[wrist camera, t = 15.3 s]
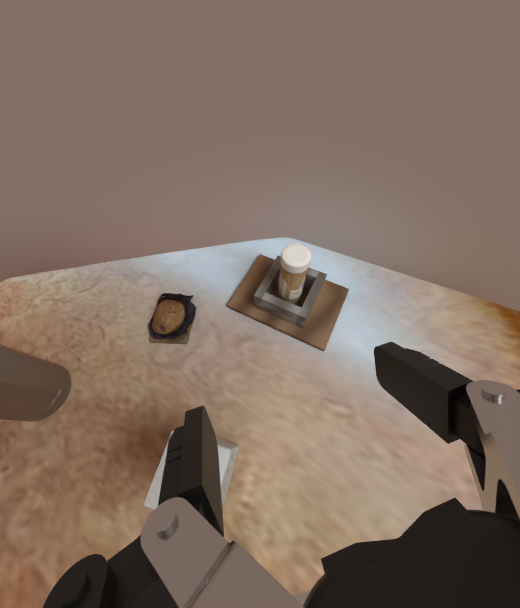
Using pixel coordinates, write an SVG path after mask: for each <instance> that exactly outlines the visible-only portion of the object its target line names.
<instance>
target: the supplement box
mask: <svg viewBox="0 0 520 608" xmlns="http://www.w3.org/2000/svg"><path fill="white" fill-rule="evenodd" d="M173 432H174V430H172V431H171V434H170V436H169V439H170V437H171V436H172V434H173ZM169 439H168V441H169ZM216 440H217V445H218V455H219V470H220V484H221V499H222V504H223V503H224V501H225V498H226V494H227V490H228V487H229V483H230V479H231V476H232V472H233V468H234V465H235V461H236V457H237V453H238V449H239V445H237V444H234V443H232V442H229V441H226V440H223V439H220V438H217V437H216ZM167 447H168V442H167V444H166V447H165V450H164V452H163V455H162V458H161V460H160V463H159V466H158V468H157V471H156V473H155V476H154V478H153V481H152V484H151V486H150V489H149V491H148V494H147V496H146V499H145V502H144V506H145V507H148V508H150V509H152V510H155V509H156V508H157V506H158V501H159V495H160V489H161V483H162V477H163V471H164V465H165V459H166V455H167Z"/></svg>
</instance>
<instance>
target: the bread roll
mask: <svg viewBox="0 0 520 608" xmlns="http://www.w3.org/2000/svg"><path fill="white" fill-rule="evenodd" d="M162 296H164V297H162ZM162 296H161V297H160V299H159V300H158V304H157V308H156V310H155V312H154V315H153V317H152V319H151V321H150V323H149V330H150V338H149V341H150V342H151V343H171V344H187V343H188V340H189V336H190V332H191V328H192V324H193V320H194V317H195V310H196V307H195V305H194V304H192V302H190V301H191V298H192V297H193V295H192V296H185V295H182V294H171V293H165V294H162Z"/></svg>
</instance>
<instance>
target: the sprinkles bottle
mask: <svg viewBox="0 0 520 608" xmlns="http://www.w3.org/2000/svg"><path fill="white" fill-rule="evenodd" d="M310 261H311V253H310V251H309V249H308V248H307V247H305V246H303V245H301V244H290V245H288V246H286V247H285V248H284V249H283V251H282V253H281V271H280V279H279V293H278V298H280V299H282V300H285V301H287V302H289V303H292V304H294V305H297V304H298V303H299V302H300V298H301V297H300V296H301V293H302V290H303V285H304V281H305V276H306V272H307V269H308V267H309V265H310Z"/></svg>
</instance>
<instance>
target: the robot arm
mask: <svg viewBox="0 0 520 608" xmlns="http://www.w3.org/2000/svg"><path fill="white" fill-rule="evenodd" d="M374 357H375V366H376V375H377V379H378V381H379V383H380V385H381V386H382V387H383V389H385V390H386V391H387V392H388V393H389V394H390V395H392V396H393V397H394V398H395V399H396V400H397V401H399V402H400V403H401V404H402V405H403V406H404V407H406V408H407V409H408V410H409V411H410V412H411V413H413V414H414V415H415V416H416V417H417V418H418V419H420V420H421V421H422V422H423V423H424V424H426V425H427V426H428V427H429V428H430V429H431V430H433V431H434V432H435V433H436V434H437V435H438V436H440V437H441V438H442V439H443V440H444V441H445V442H447V443H448V444H449V443H451V442H454V441H456V440H458V439H461V440H462V441H463V442H465V452H466V455H467V458H468V461H469V464H470V468H471V471H472V474H473V477H474V480H475V483H476V487H477V490H478V493H479V496H480V500H481V504H482V510H483V511H482V510H466V509H465V507H464V506H463V505H462V504H461V503H460V502H459V501H458V500H457V499H456V498H453V499H451V500H449V501H447V502H444V503H442V504H440V505H438V506H436V507H434V508H431V509H429V510H427V511H425V512H423V514H422V515H421V516H420V517H419V518H418V519H417V520H416V521H415V522H414V523H413V524H412V525H411V526H410V527H409V528H408V529H407V530H406V531H405V532H404V533H403V534H402V536H400V537H399V538H397V539H391V540H381V541H371V542H360V543H355V544H353V545H350V546H348V547H346V548H344V549H342V550H339V551H337V552H335V553H333V554H331V555H328V556H326V557H324V558H322V559H321V561H322V565H323V569H324V573H325V574H324V575H323V576H322V577H321V578H320V579H319V580H318V581H317V583H316V584H315V585H314V587H313V588H312V590H311V591H310V593H309V595H308V597H307V599H306V600H305V603H304V605H303V606H302V605H301V604H300V603H299V602H298V601H297V600H296V599H295V598H294V597H293V596H292V595H291V594H290V593H289V592H288V591H287V590H286V589H285V588H284V587H283V586H282V585H281V584H280V583H279V582H278V581H277V580H276V579H275V578H274V577H273V576H271V575H270V574H269V573H268V572H267V571H266V570H265V569H264V568H263V567H262V566H261V565H260V564H259V563H258V562H257V561H256V560H255V559H254V558H253V557H252V556H251V555H250V554H249V553H248V552H247V551H246V550H245V549H244V548H243V547H242V546H241V545H239V544H238V543H237V542H235V541H232V542H231V543H229V542H228V541H227V540H225V539H224V538H223V537H224V528H223V513H222V499H221V484H220V470H219V455H218V445H217V440H216V436H215V433H214V430H213V428H212V425H211V422H210V419H209V417H208V414H207V411H206V409H205V407H204V406H200V407H198V408H195V409H192V410H189V411H186V413H185V421H184V426H182V427H179V428H176V429H175V430H174V432H173V434H172V436H171V437H170V439H169V441H168V447H167V455H166V459H165V465H164V471H163V477H162V483H161V489H160V495H159V501H158V506H157V508H156V509H155V510H154V511H153V512H152V513H151V514H150V516H149V517H148V519H147V520H146V522H145V524H144V526H143V529H142V532H141V535H140V536H139V537H138V538H137V539H136V540H134V541H133V542H132V543H131V544H129V545H128V546H127V547H125V548H124V549H123V550H121V551H120V552H118V553H117V554H116V555H114V556H113V557H112V558H110V559H109V560H108V561H107V560H106V559H105V558H104V557H103V556H102V555H99V554H93V555H89V556H87V557H85V558H83V559H81V560H80V561H78V562H77V563H75V564H74V565H73V566H72V567H71V568H70V569H69V570H68V571H67V572H66V573H65V574H64V575H63V576H62V577H61V578H60V579H59V581H58V582H57V583H56V585H55V586H54V588H53V589H52V591H51V592H50V594H49V596H48V598H47V599H46V602H45V604H44V606H43V608H520V390H515V389H513V388H512V387H510V386H508V385H505V384H502V383H499V382H495V381H489V380H478V381H472V380H470V379H468V378H467V377H465V376H463V375H461V374H459V373H457V372H456V371H454V370H452V369H450V368H448V367H446V366H444V365H443V364H439V362H437V361H435V360H433V359H430V357H428V356H426V355H424V354H422V353H421V352H418V351H414V350H411V349H407V348H406V349H404V348H402V347H401V346H399V345H397V344H395V343H393V342H389V343H386V344H383V345H380V346H377V347H375V348H374ZM70 385H71V379H70V375H69V373H68V371H67V370H66V369H65V368H63V367H62V366H59V365H56V364H54V363H51V362H48V361H45V360H43V359H40V358H37V357H34V356H32V355H29V354H26V353H23V352H20V351H18V350H15V349H12V348H9V347H6V346H3V345H1V344H0V419H3V420H16V421H38V420H41V419H44V418H46V417H48V416H49V415H51V414H52V413H54V412H55V411H56V410H57V409H58V408H59V407H60V406H61V405H62V404H63V402H64V401H65V399H66V397H67V395H68V393H69V390H70Z"/></svg>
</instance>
